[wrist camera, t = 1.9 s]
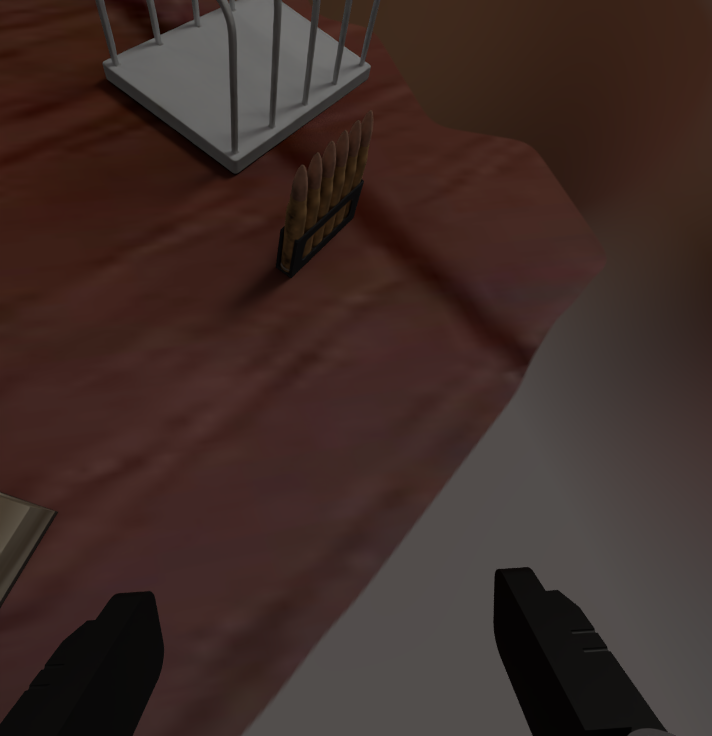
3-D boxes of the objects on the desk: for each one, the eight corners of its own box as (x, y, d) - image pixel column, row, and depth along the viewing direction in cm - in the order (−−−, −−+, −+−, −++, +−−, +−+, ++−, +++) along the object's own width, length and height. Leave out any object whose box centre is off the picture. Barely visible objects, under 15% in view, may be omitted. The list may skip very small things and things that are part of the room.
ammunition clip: (340, 207, 45) (368, 99, 34) (354, 217, 45) (386, 112, 34) (275, 267, 40) (284, 164, 29) (290, 278, 40) (305, 179, 29)
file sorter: (235, 177, 43) (228, 1, 29) (106, 82, 44) (39, -132, 30) (368, 79, 54) (409, -84, 40) (262, 5, 55) (266, -179, 41)
